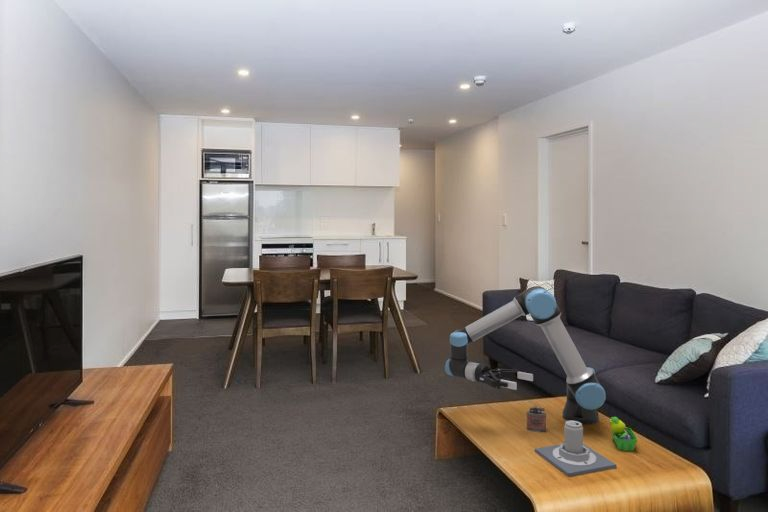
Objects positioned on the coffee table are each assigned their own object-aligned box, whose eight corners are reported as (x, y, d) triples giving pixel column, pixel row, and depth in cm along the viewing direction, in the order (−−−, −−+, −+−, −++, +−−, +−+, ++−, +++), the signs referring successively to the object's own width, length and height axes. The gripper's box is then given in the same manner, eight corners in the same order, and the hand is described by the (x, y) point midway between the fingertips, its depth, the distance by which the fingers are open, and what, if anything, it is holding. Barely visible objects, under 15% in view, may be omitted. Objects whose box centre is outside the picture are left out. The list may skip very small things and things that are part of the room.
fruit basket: (638, 453, 183) (638, 423, 182) (612, 451, 185) (612, 422, 184) (630, 440, 194) (630, 412, 193) (606, 438, 196) (606, 411, 195)
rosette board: (579, 444, 191) (579, 434, 191) (616, 467, 172) (616, 456, 171) (534, 451, 185) (534, 441, 185) (568, 476, 166) (568, 465, 166)
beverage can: (584, 459, 175) (584, 427, 174) (565, 458, 176) (566, 426, 175) (581, 451, 181) (581, 420, 180) (563, 450, 182) (563, 419, 182)
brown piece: (526, 430, 205) (526, 407, 204) (526, 427, 208) (526, 404, 208) (546, 433, 202) (546, 409, 201) (546, 430, 205) (546, 406, 204)
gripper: (493, 374, 214) (539, 383, 200) (461, 388, 196) (509, 399, 182) (493, 357, 214) (538, 365, 200) (461, 370, 196) (508, 380, 181)
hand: (524, 381), depth 191 cm, fingers open, 13 cm apart
